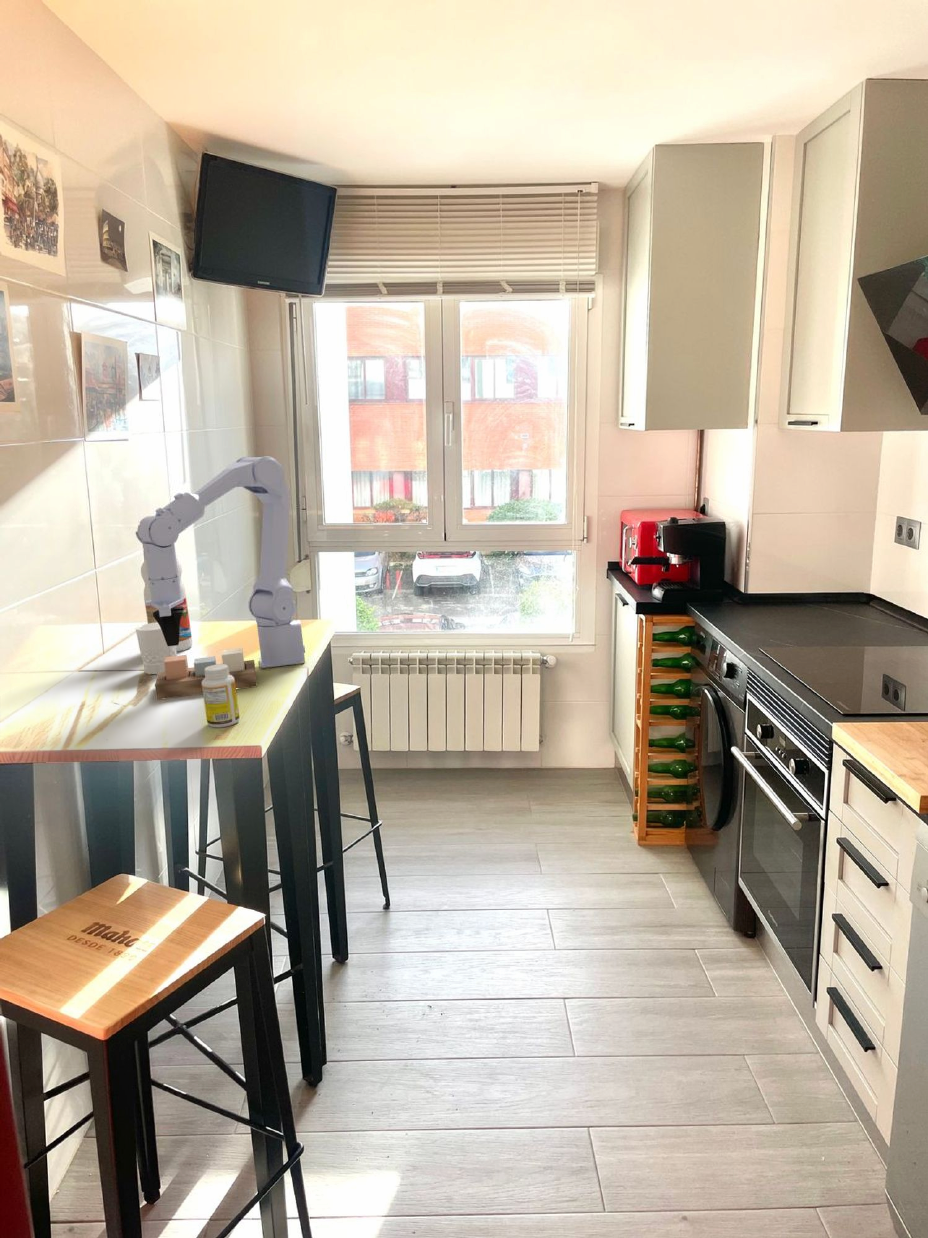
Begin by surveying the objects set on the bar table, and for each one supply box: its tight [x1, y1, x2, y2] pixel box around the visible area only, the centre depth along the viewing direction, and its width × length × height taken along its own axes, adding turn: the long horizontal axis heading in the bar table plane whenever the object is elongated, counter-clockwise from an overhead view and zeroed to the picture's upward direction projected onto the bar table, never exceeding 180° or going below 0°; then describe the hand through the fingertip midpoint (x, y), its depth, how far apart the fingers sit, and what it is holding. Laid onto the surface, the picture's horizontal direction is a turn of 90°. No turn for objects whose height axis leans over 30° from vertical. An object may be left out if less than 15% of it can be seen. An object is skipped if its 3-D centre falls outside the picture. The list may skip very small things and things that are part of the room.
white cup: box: [135, 622, 178, 675], centre depth 198 cm, size 8×8×10 cm
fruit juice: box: [140, 559, 193, 653], centre depth 215 cm, size 9×9×28 cm
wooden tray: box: [154, 659, 257, 700], centre depth 184 cm, size 19×10×3 cm, turn 103°
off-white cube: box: [221, 647, 245, 672], centre depth 184 cm, size 4×4×4 cm
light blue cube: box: [193, 655, 217, 676], centre depth 183 cm, size 4×4×4 cm
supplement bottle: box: [202, 663, 240, 728], centre depth 159 cm, size 6×6×10 cm
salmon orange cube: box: [164, 654, 189, 680], centre depth 182 cm, size 4×4×4 cm
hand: (173, 645), depth 181 cm, fingers closed
